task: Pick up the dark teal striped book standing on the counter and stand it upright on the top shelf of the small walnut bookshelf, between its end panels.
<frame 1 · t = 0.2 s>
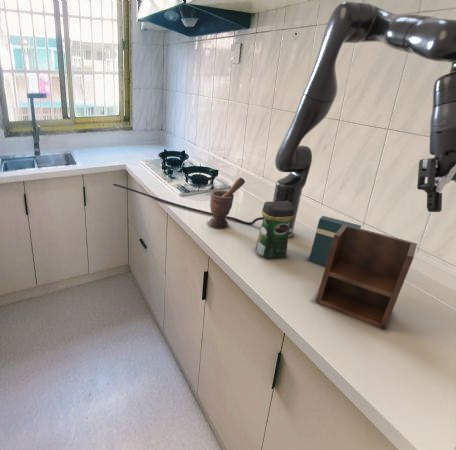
hand: (451, 211, 67), 31 cm above the worktop, tool tilted 20°, fingers open, 8 cm apart
bookshelf: (352, 307, 89), on the worktop
mortar and pestle: (222, 225, 135), on the worktop
book: (327, 264, 109), on the worktop
coffee jar: (269, 253, 114), on the worktop
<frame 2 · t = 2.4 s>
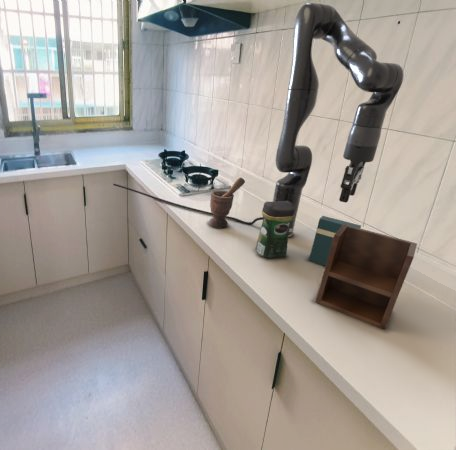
hand: (346, 198, 100), 23 cm above the worktop, tool pointing down, fingers open, 8 cm apart
nothing on the worktop moved.
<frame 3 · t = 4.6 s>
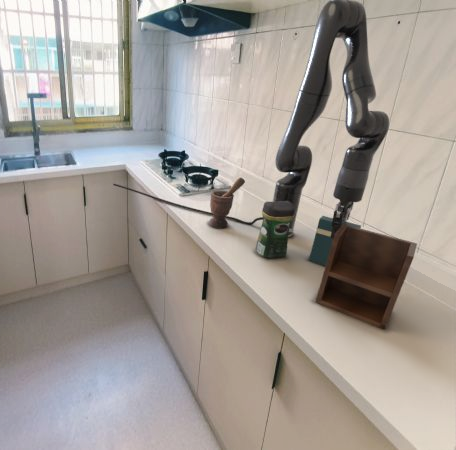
hand: (336, 236, 105), 10 cm above the worktop, tool pointing down, fingers closed on book, 3 cm apart
book: (327, 264, 109), on the worktop, touching gripper
everything else where it was.
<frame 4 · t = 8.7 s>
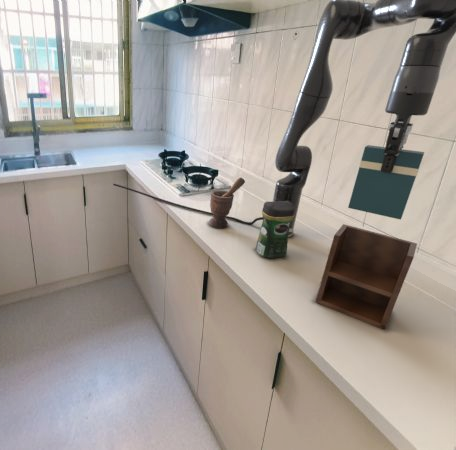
hand: (387, 170, 78), 36 cm above the worktop, tool pointing down, fingers closed on book, 3 cm apart
book: (374, 211, 82), point 26 cm above the worktop, touching gripper
everything else where it was.
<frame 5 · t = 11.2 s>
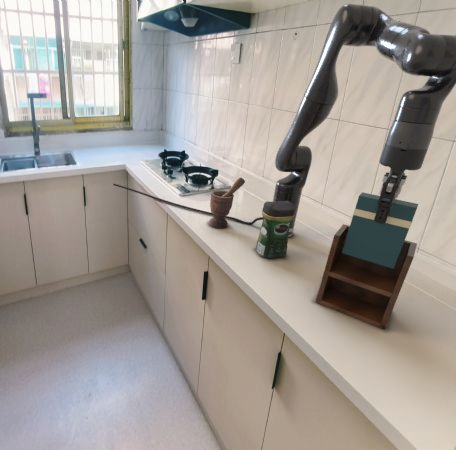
hand: (380, 219, 77), 25 cm above the worktop, tool pointing down, fingers closed on book, 3 cm apart
book: (368, 258, 82), point 15 cm above the worktop, touching gripper
everything else where it was.
when the fingers open (20 cm above the worktop, at t = 12.8 s): book stays where it is, resting on bookshelf.
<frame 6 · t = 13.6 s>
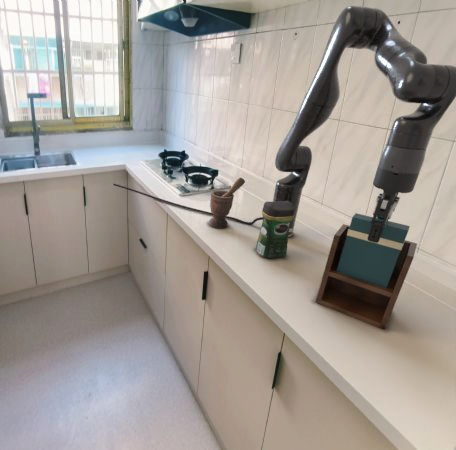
hand: (375, 235, 79), 21 cm above the worktop, tool pointing down, fingers open, 8 cm apart
book: (361, 276, 84), point 10 cm above the worktop, touching bookshelf
everything else where it was.
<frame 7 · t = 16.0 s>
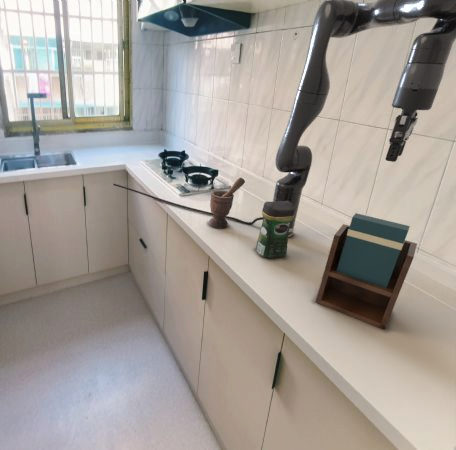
hand: (393, 158, 82), 37 cm above the worktop, tool pointing down, fingers open, 8 cm apart
nothing on the worktop moved.
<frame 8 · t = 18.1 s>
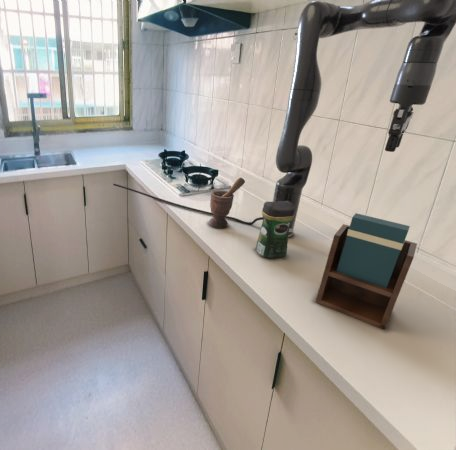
hand: (391, 149, 90), 38 cm above the worktop, tool pointing down, fingers open, 8 cm apart
nothing on the worktop moved.
at the end: book inside the target area on the bookshelf (0.9 cm from its centre), point 10.0 cm above the bookshelf's base; book tilted 0°; the gripper is holding nothing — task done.
